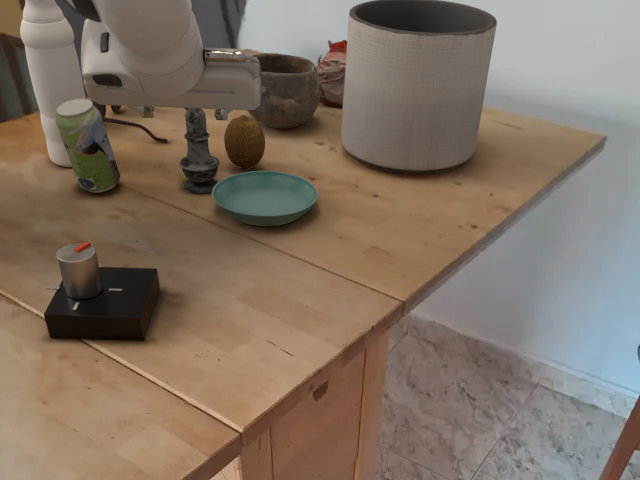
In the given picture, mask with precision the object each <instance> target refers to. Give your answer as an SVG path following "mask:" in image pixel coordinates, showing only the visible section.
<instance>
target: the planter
mask: <svg viewBox="0 0 640 480" xmlns="http://www.w3.org/2000/svg"><path fill="white" fill-rule="evenodd" d="M347 21H348V22H347V39H346V41H347V54H346V69H345V84H344V98H343V107H342V113H341V114H342V115H341V128H340V129H341V131H340V133H341V134H340V139H341V145H342V147H343V148H344V150H345V151H346V152H347V153H348V154H349V155H350V156H351V157H352V158H354V159H355V160H356V161H358V162H359V163H361V164H363V165H365V166H367V167H370V168H372V169H375V170H379V171H383V172H388V173H393V174H401V175H410V176H411V175H413V176H415V175H417V176H418V175H419V176H420V175H434V174H440V173H445V172H448V171H451V170H454V169H455V168H458V167H460V166H461V165H463V164H465V163H466V162H468V161H469V160H470V159H471V158H472V157H473V155H474V154H475V150H476V145H477V141H478V135H479V130H480V124H481V118H482V112H483V107H484V100H485V94H486V87H487V81H488V75H489V71H490V65H491V59H492V54H493V47H494V42H495V37H496V31H497V27H498V25H497V24H498V20H497V19H496V17H495V16H494V15H493V14H491V13H490V12H488V11H485V10H483V9H481V8H478V7H476V6H475V7H474V6H472V5H468V4H463V3H458V2H454V1H447V0H370V1H365V2H362V3H361V2H360V3H359V4H358V3H357V4H356V5H354V6H353V7H351V8H350V9H349V11H348V20H347Z"/></svg>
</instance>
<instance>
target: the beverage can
mask: <svg viewBox="0 0 640 480" xmlns="http://www.w3.org/2000/svg"><path fill="white" fill-rule="evenodd" d="M56 112H57V114H56V120H55V121H56V125H57V127H58V130H59V133H60V135H61V138H62V140H63V143H64V146H65V148H66V151H67V154H68V156H69V159H70V162H71V164H72V167H71V168H72V170H73V172H74V175H75V177H76V180H77V184H78V186H79V187H80V188H81V189H82V190H84V191H88V192H90V193H96V194H97V193H98V194H99V193H104V192H107V191H109V190H112V189H113V188H114V187H115V186H116V184H118V183H119V181H120V179H121V172H120V170H119V167H118V164H117V161H116V157H115V154H114V151H113V148H112V144H111V142H110V139H109V135H108V133H107V130H106V127H105V122H103V120H102V117H101V114H100V111H99V110H98V108H97V107H96V106H94V105H93V103H92V101H91V99H90V98H86V97H85V98H77V99H71V100H68V101H65V102H63V103H61V104H60V105H59V106H58V107H57V108H56Z"/></svg>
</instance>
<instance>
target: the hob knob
mask: <svg viewBox="0 0 640 480" xmlns="http://www.w3.org/2000/svg"><path fill="white" fill-rule="evenodd" d="M55 256H56V259H57V264H58V268H59V272H60V276H61V279H62V280H63V284H64V288H65V292H66V294H67V295H68V296H69V297H72V298H75V299H87V298H91V297H94V296H96V295H98V294H100V293H101V292H102V290H103V283H102V278H101V273H100V268H99V267H100V265H99V260H98V253H97V249H96V248H95V247H94V245H92V243H91V242H90V241H85V242H77V243H75V242H74V243H70V244H67V245H64V246H62V247H60V248H59V249H58V250H57V251H56V253H55ZM62 280H61V281H62Z"/></svg>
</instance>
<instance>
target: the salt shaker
mask: <svg viewBox="0 0 640 480" xmlns="http://www.w3.org/2000/svg"><path fill="white" fill-rule="evenodd" d="M205 112H206V111H204V109H199V108H189V109H188V110H187V111H186V110H185V112H184V119H185V130H186V133H184V135H183V136H184V137H183V138H184V139H186V145H187V153H186V156H184V157H182V158H180V160H179V161H178V166H179V167H180V168H181V171H182V173H183V176H184V177H185V178H186V179H188V180H186V181H185V182H184V183H183V189H184V190H185V191H186V192H188V193H191V194H199V195H202V194H203V195H204V194H210V193H211V194H212V190H213V188H214V186H215V185H216V184H217V183H218V182H219V181H217V180H216V179H214V178H215V177H216V176H217V173H218V170H219V166H220V163H221V162H220V159H219V158H218V157H216V156H214V155H211V152H210V148H209V138H211V137H210V136H211V135H210V133H209V132H208V131H207V129H208V128H207V117H206V113H205Z"/></svg>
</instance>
